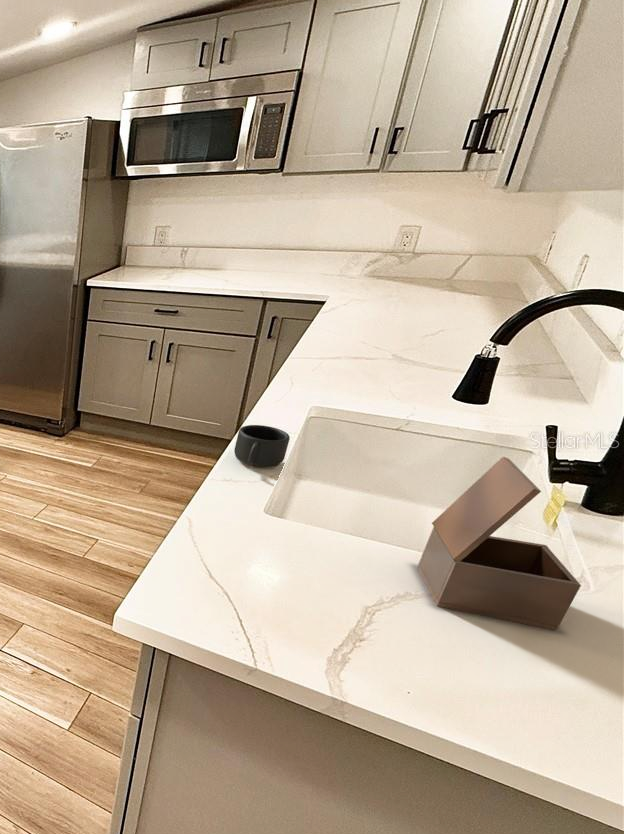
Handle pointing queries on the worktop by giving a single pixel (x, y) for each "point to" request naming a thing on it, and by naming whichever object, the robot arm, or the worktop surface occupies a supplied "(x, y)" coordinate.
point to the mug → (261, 446)
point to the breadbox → (500, 581)
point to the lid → (484, 508)
